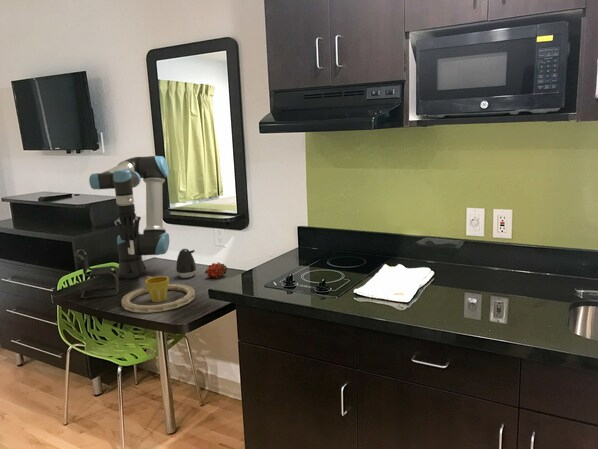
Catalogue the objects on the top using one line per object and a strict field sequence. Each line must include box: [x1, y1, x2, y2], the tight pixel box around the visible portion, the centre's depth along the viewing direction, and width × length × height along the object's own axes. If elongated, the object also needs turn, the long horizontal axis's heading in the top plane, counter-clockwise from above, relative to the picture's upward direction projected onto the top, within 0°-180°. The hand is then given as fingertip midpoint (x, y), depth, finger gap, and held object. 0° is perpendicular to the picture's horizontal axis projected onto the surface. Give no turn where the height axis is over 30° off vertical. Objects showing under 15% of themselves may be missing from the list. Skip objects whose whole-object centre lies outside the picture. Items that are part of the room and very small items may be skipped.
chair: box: [73, 248, 120, 300], centre depth 235 cm, size 13×17×22 cm
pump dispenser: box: [175, 248, 197, 279], centre depth 257 cm, size 10×10×15 cm
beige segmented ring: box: [120, 275, 196, 314], centre depth 224 cm, size 32×32×7 cm
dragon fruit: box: [204, 262, 228, 279], centre depth 255 cm, size 8×8×12 cm
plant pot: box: [144, 276, 170, 303], centre depth 224 cm, size 10×10×10 cm
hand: (131, 253), depth 228 cm, fingers closed
